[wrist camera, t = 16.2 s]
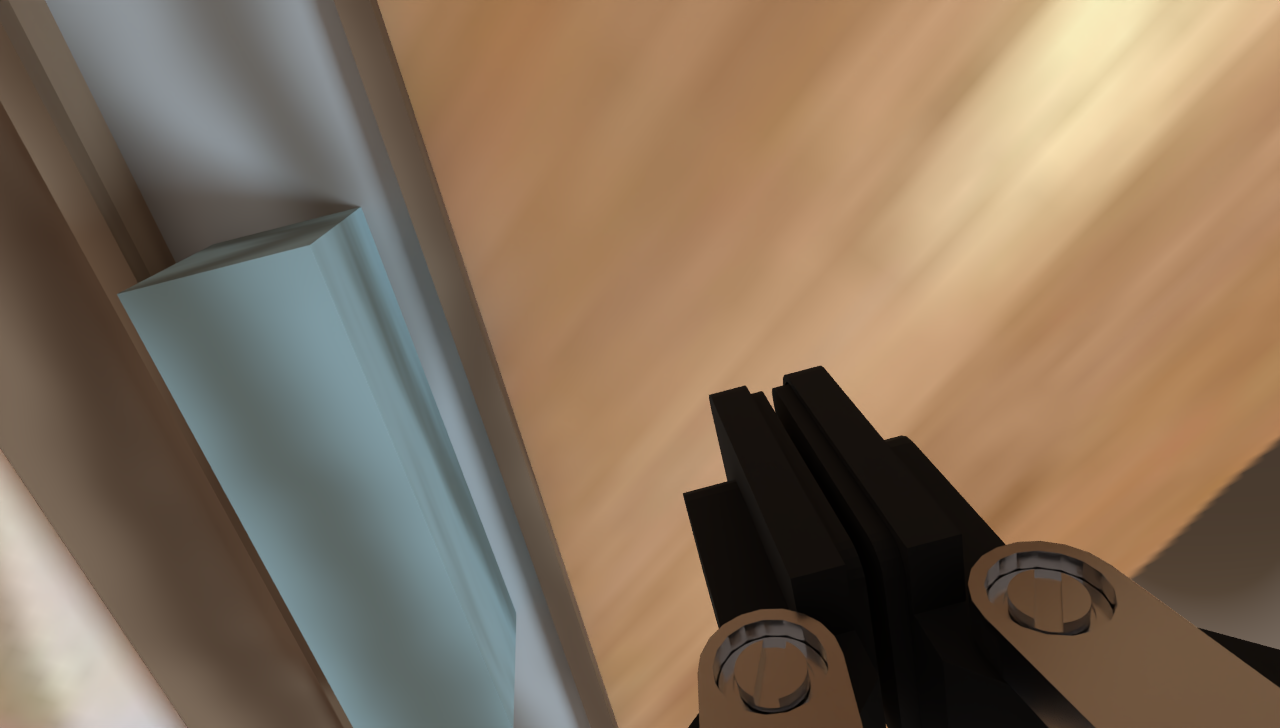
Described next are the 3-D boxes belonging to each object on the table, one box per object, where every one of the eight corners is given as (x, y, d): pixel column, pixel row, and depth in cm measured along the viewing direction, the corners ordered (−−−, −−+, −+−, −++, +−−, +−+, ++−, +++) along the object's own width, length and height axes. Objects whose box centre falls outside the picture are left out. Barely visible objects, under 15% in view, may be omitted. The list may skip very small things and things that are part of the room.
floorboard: (325, -154, 20) (295, -187, 18) (625, 750, 35) (633, 803, 33) (-244, -25, 20) (-360, -40, 17) (306, 843, 35) (288, 904, 32)
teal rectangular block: (361, 206, 24) (309, 244, 18) (516, 613, 31) (513, 729, 25) (213, 244, 24) (116, 294, 18) (403, 645, 31) (375, 768, 25)
